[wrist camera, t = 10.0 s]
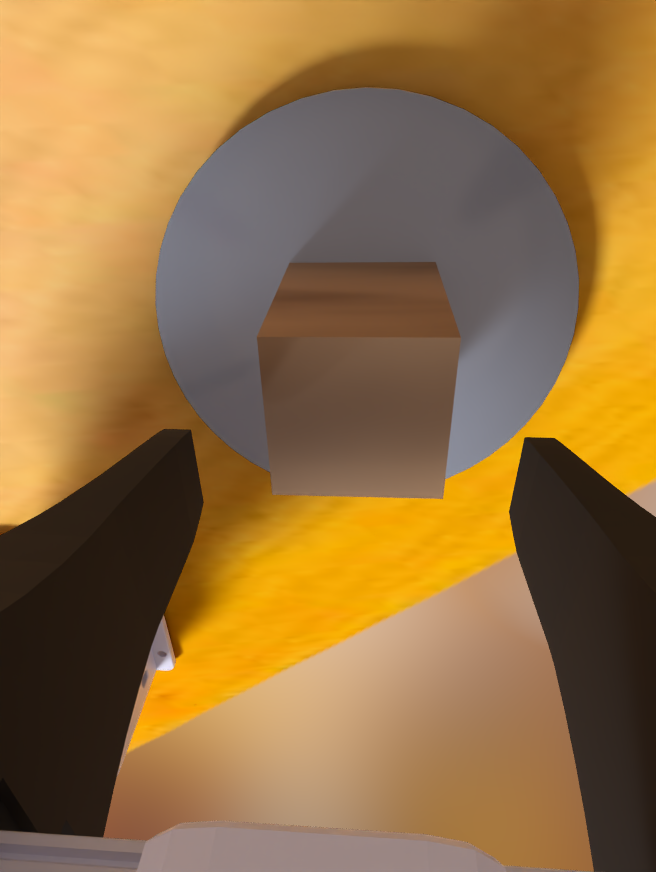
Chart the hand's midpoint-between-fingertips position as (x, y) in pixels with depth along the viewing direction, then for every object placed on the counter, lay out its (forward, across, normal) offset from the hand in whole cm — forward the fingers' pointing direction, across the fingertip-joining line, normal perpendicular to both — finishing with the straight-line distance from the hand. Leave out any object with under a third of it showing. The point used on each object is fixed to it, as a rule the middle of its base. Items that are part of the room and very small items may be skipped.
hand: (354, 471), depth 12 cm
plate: (+9, 0, 0) cm, 9 cm away
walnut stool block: (+8, 0, 0) cm, 8 cm away
